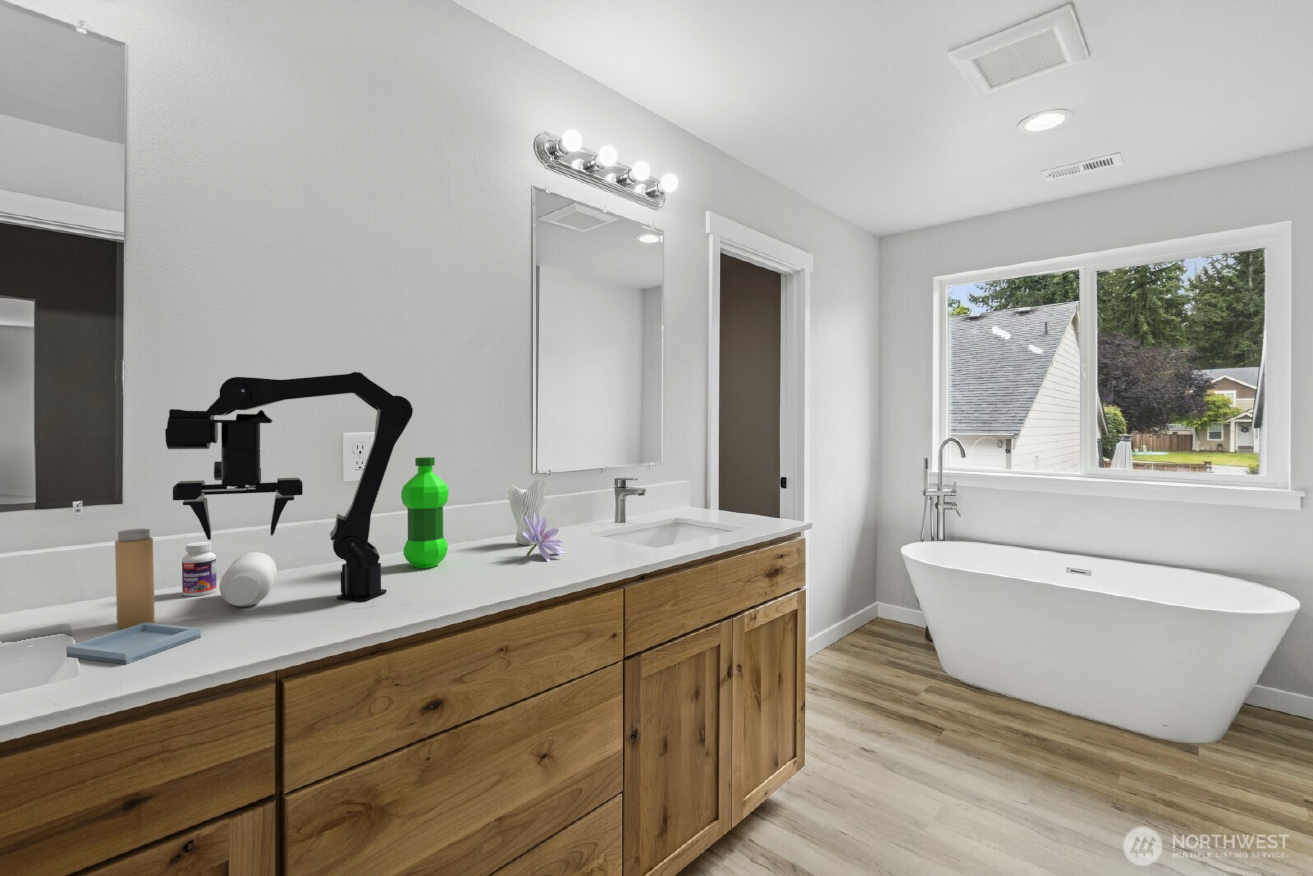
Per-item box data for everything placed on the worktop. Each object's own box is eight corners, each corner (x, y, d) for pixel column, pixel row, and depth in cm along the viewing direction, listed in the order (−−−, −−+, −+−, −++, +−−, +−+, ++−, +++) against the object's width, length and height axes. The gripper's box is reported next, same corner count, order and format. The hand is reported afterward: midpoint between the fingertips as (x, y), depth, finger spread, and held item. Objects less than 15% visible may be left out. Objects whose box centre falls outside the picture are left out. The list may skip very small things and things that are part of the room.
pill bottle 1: (178, 598, 119) (177, 547, 118) (186, 591, 123) (185, 542, 123) (213, 595, 121) (211, 545, 120) (219, 588, 126) (218, 539, 125)
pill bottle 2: (251, 600, 123) (238, 622, 110) (219, 571, 121) (202, 590, 107) (287, 571, 126) (279, 589, 112) (256, 542, 123) (244, 558, 110)
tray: (200, 637, 98) (200, 627, 97) (125, 664, 87) (125, 653, 87) (146, 631, 100) (146, 622, 100) (66, 657, 90) (66, 646, 89)
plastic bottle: (455, 566, 144) (454, 458, 143) (407, 573, 138) (406, 459, 137) (443, 558, 152) (442, 455, 151) (397, 564, 146) (396, 457, 146)
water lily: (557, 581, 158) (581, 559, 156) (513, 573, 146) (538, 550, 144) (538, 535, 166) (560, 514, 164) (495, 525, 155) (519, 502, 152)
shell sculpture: (505, 544, 169) (504, 478, 168) (529, 540, 175) (529, 476, 175) (524, 548, 164) (524, 480, 163) (548, 544, 170) (548, 477, 169)
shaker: (161, 620, 106) (159, 529, 105) (131, 629, 101) (129, 534, 101) (140, 618, 107) (137, 527, 106) (109, 627, 102) (107, 532, 102)
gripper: (300, 446, 122) (300, 526, 122) (180, 447, 112) (181, 534, 113) (302, 449, 112) (302, 535, 113) (172, 450, 103) (172, 545, 103)
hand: (241, 537), depth 111 cm, fingers open, 9 cm apart
